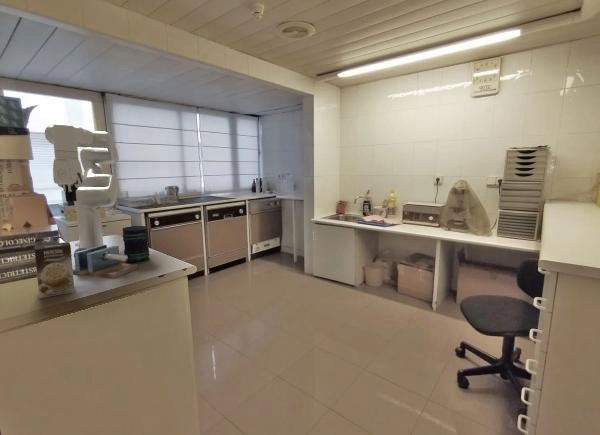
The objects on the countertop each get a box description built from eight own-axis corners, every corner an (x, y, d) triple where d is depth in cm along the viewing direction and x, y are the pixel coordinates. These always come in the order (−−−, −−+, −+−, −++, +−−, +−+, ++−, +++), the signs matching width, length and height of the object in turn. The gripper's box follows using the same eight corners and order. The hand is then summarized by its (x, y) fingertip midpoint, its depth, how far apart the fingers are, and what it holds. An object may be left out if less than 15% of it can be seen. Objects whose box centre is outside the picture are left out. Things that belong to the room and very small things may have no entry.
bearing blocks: (75, 270, 114) (73, 252, 112) (104, 261, 126) (102, 244, 125) (92, 272, 112) (91, 254, 111) (119, 262, 124) (118, 245, 123)
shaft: (74, 261, 118) (72, 249, 117) (85, 258, 123) (84, 246, 122) (120, 266, 113) (119, 253, 113) (130, 262, 118) (129, 250, 117)
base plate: (70, 273, 115) (70, 269, 115) (97, 264, 126) (97, 260, 126) (114, 278, 111) (113, 274, 110) (137, 268, 122) (137, 264, 122)
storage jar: (154, 259, 135) (152, 227, 132) (133, 265, 126) (131, 231, 124) (140, 256, 139) (138, 225, 137) (119, 261, 131) (117, 228, 128)
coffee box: (38, 299, 92) (32, 249, 90) (39, 292, 97) (33, 245, 94) (75, 291, 98) (70, 245, 96) (74, 286, 103) (69, 241, 100)
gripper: (42, 155, 117) (47, 201, 120) (72, 155, 114) (77, 202, 117) (61, 156, 124) (65, 199, 127) (90, 156, 121) (94, 201, 124)
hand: (71, 201), depth 122 cm, fingers closed
